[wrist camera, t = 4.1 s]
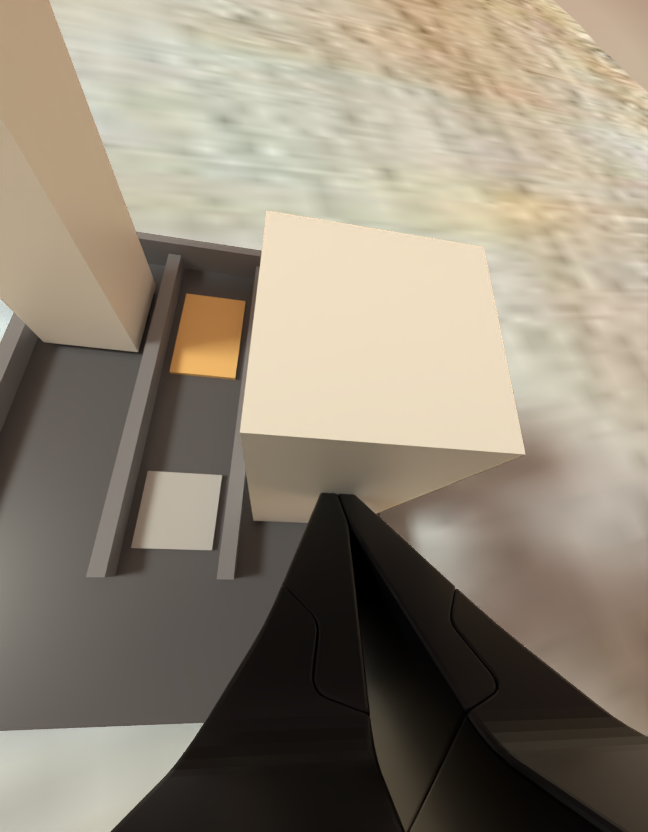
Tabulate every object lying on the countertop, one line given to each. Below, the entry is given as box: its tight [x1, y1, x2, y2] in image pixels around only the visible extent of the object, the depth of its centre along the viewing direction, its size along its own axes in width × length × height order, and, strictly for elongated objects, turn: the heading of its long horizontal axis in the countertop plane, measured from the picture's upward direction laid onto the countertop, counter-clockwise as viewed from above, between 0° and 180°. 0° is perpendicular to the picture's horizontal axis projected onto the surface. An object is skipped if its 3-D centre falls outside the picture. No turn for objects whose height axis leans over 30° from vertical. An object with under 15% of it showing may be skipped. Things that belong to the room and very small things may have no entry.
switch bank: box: [0, 232, 380, 731], centre depth 15 cm, size 20×17×3 cm
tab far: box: [0, 0, 156, 352], centre depth 12 cm, size 4×4×11 cm
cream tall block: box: [240, 210, 525, 523], centre depth 11 cm, size 4×4×11 cm
